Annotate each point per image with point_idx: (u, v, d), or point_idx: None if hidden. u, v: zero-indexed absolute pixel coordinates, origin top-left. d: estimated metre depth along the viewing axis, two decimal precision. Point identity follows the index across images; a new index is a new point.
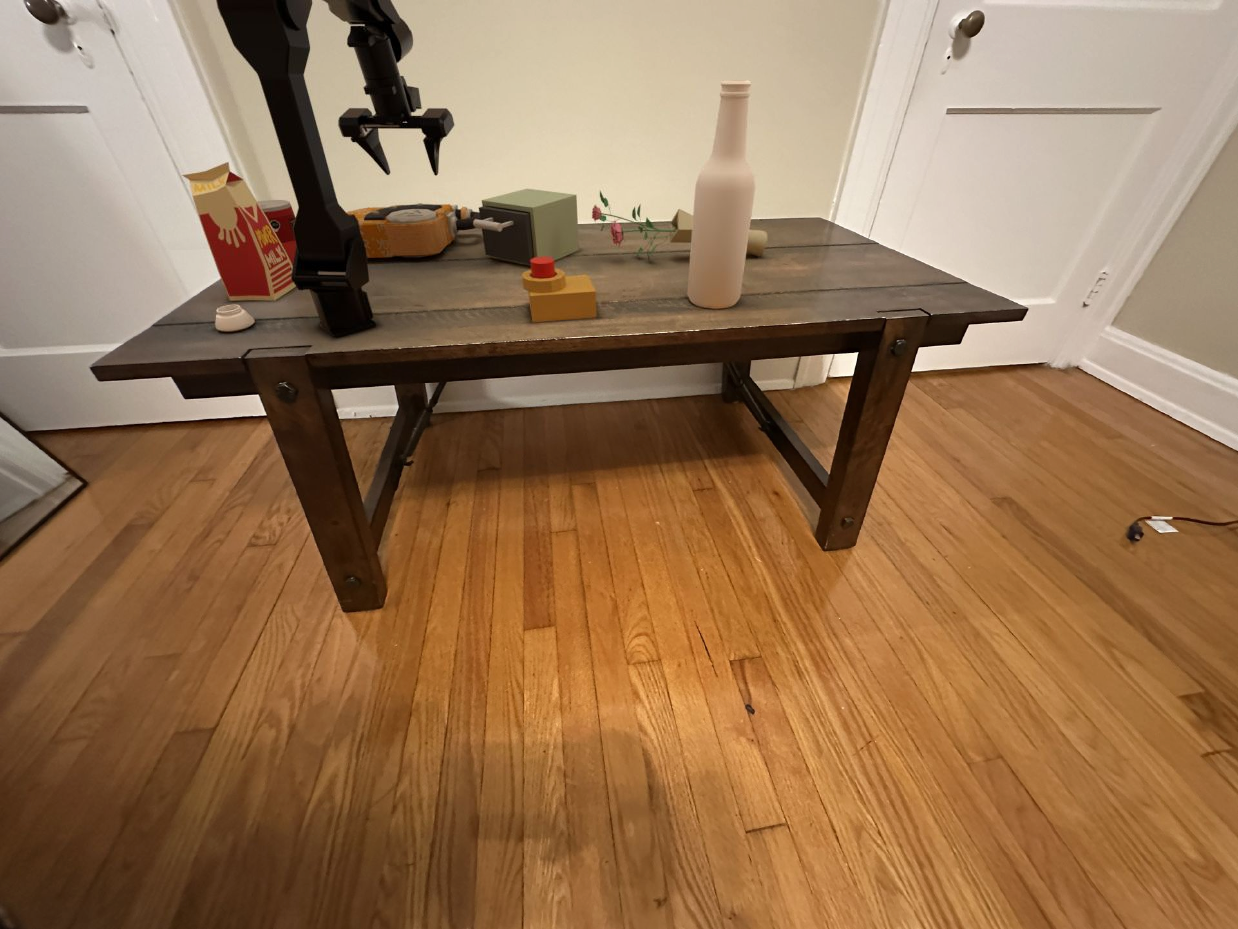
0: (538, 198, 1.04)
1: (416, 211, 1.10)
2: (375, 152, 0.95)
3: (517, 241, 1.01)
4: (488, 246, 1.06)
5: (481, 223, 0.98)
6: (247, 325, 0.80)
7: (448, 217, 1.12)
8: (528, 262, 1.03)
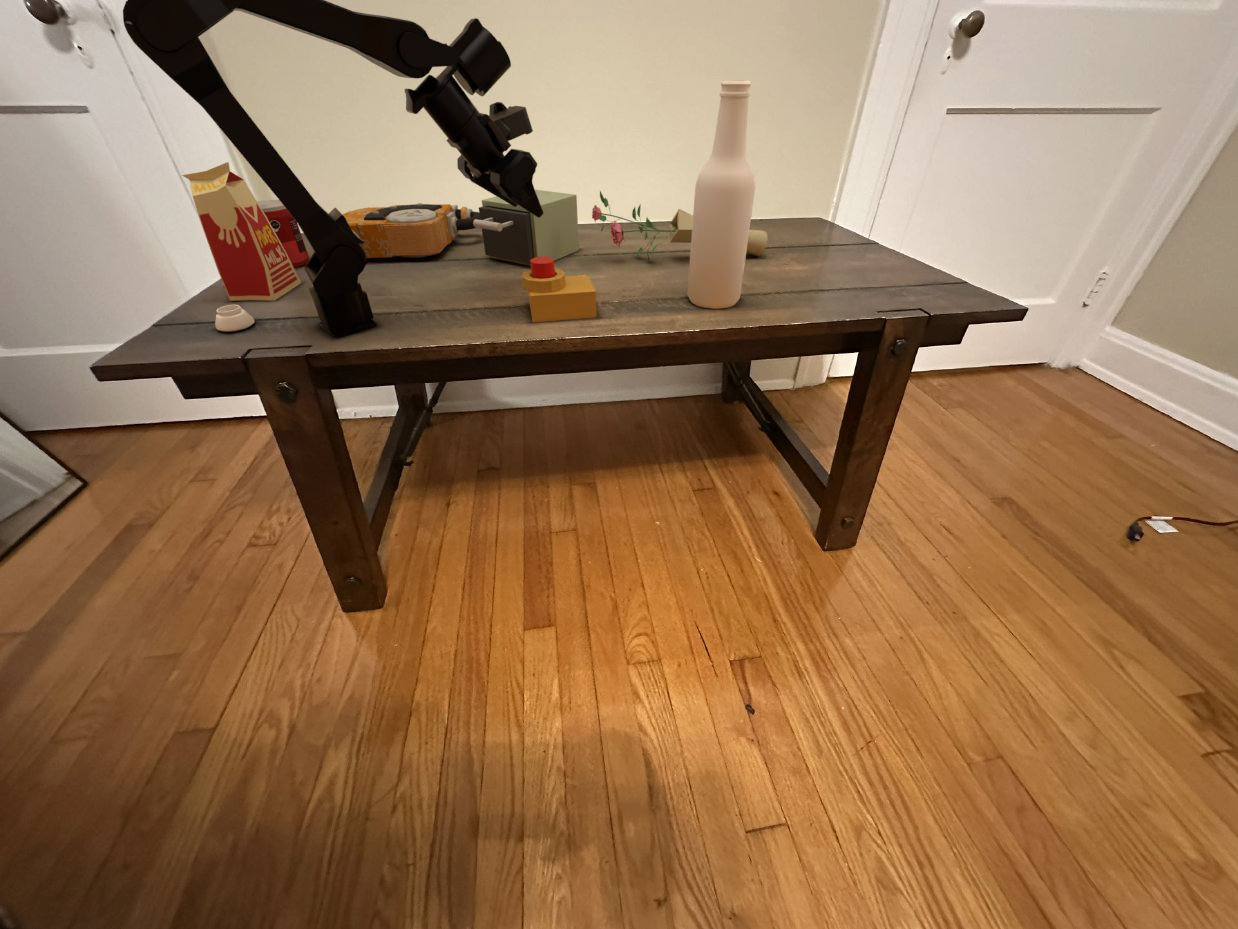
0: (538, 198, 1.04)
1: (416, 211, 1.10)
2: (491, 190, 0.87)
3: (517, 241, 1.01)
4: (488, 246, 1.06)
5: (481, 223, 0.98)
6: (247, 325, 0.80)
7: (448, 217, 1.12)
8: (528, 262, 1.03)
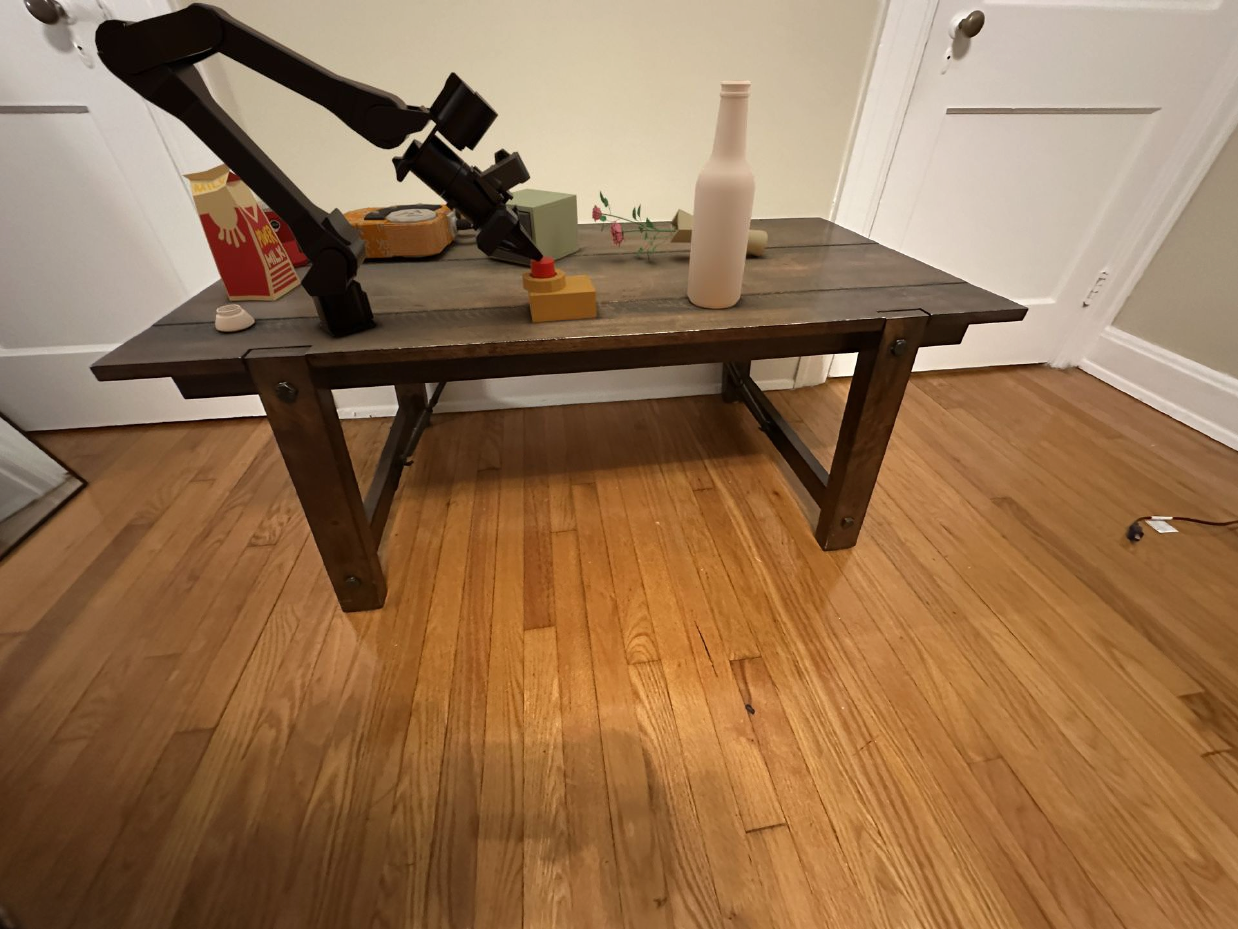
0: (538, 198, 1.04)
1: (416, 211, 1.10)
2: None
3: None
4: None
5: None
6: (247, 325, 0.80)
7: (448, 217, 1.12)
8: (528, 262, 1.03)
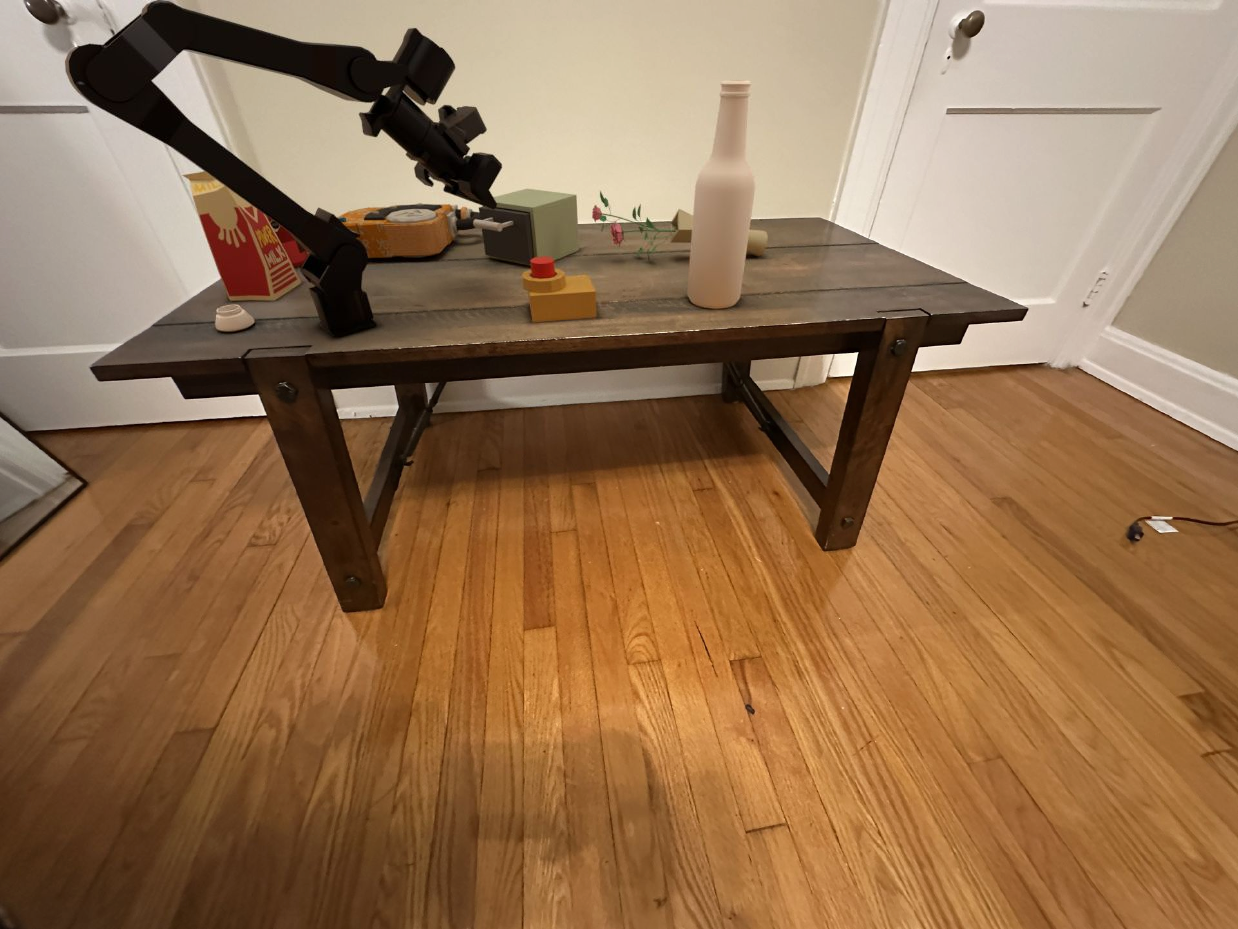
0: (538, 198, 1.04)
1: (416, 211, 1.10)
2: None
3: (517, 241, 1.01)
4: (488, 246, 1.06)
5: (481, 223, 0.98)
6: (247, 325, 0.80)
7: (448, 217, 1.12)
8: (528, 262, 1.03)
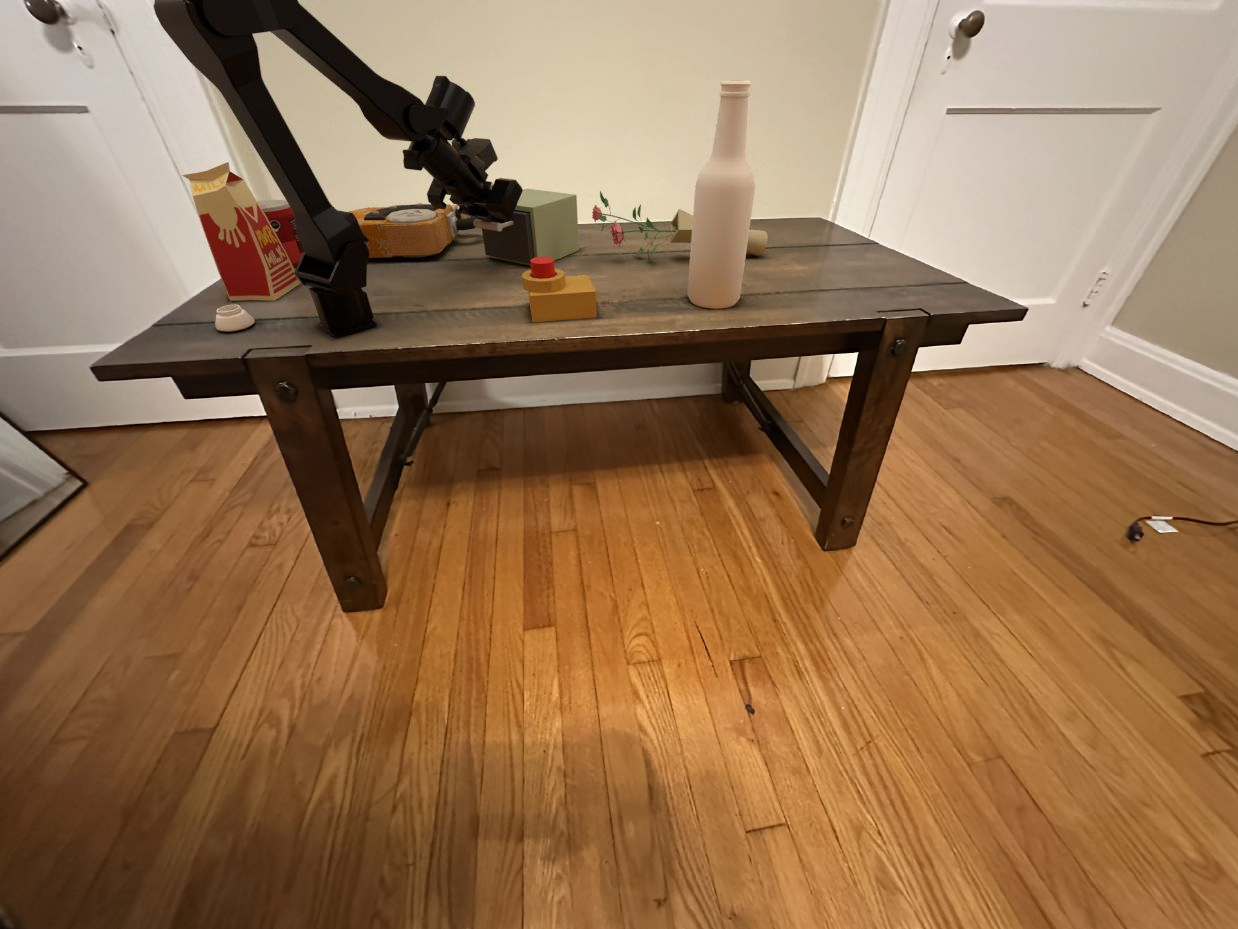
0: (538, 198, 1.04)
1: (416, 211, 1.10)
2: (481, 217, 0.97)
3: (517, 241, 1.01)
4: (488, 246, 1.06)
5: (481, 223, 0.98)
6: (247, 325, 0.80)
7: (448, 217, 1.12)
8: (528, 262, 1.03)
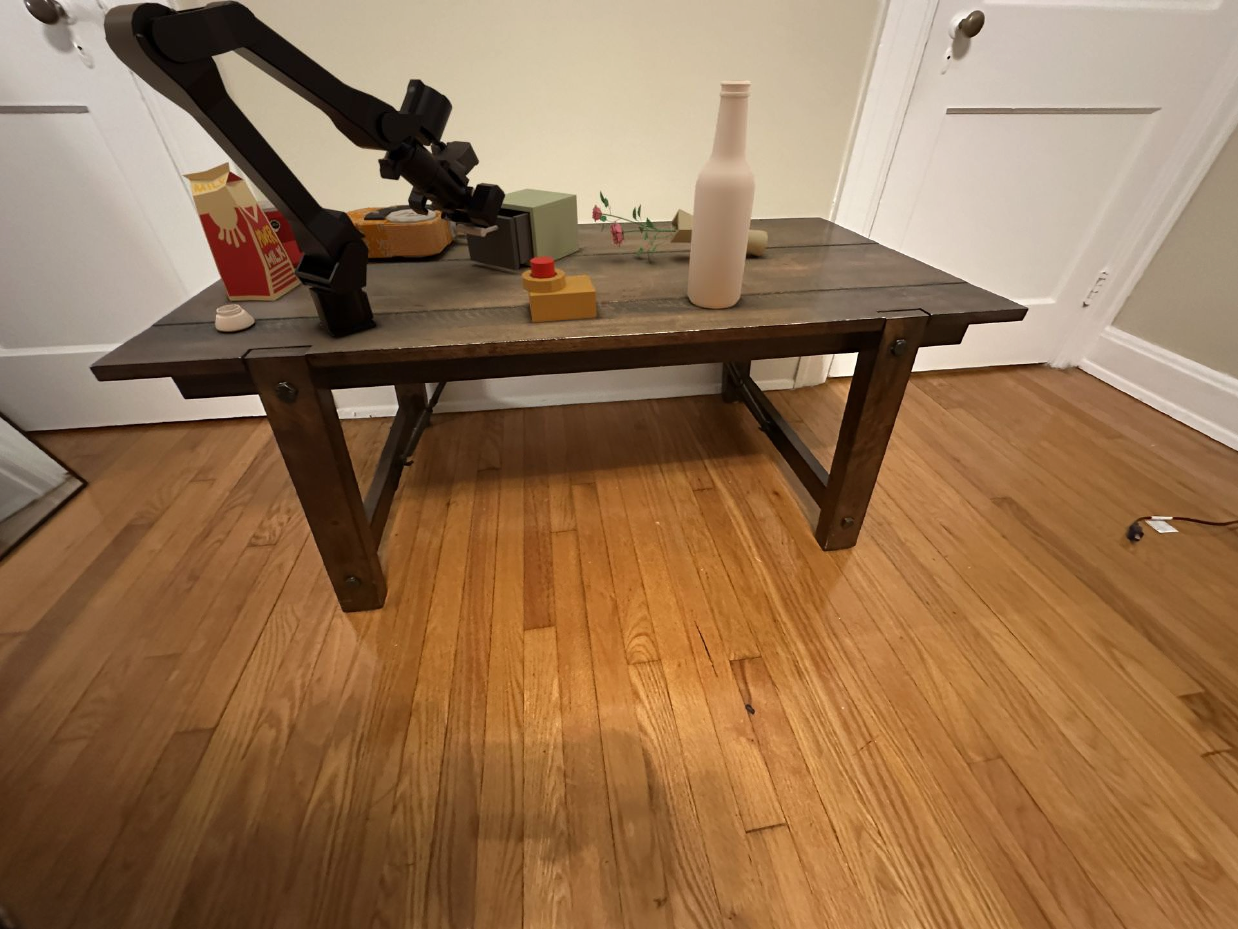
0: (538, 198, 1.04)
1: None
2: None
3: (502, 246, 0.98)
4: (473, 251, 1.03)
5: (464, 228, 0.95)
6: (247, 325, 0.80)
7: None
8: (513, 268, 1.00)
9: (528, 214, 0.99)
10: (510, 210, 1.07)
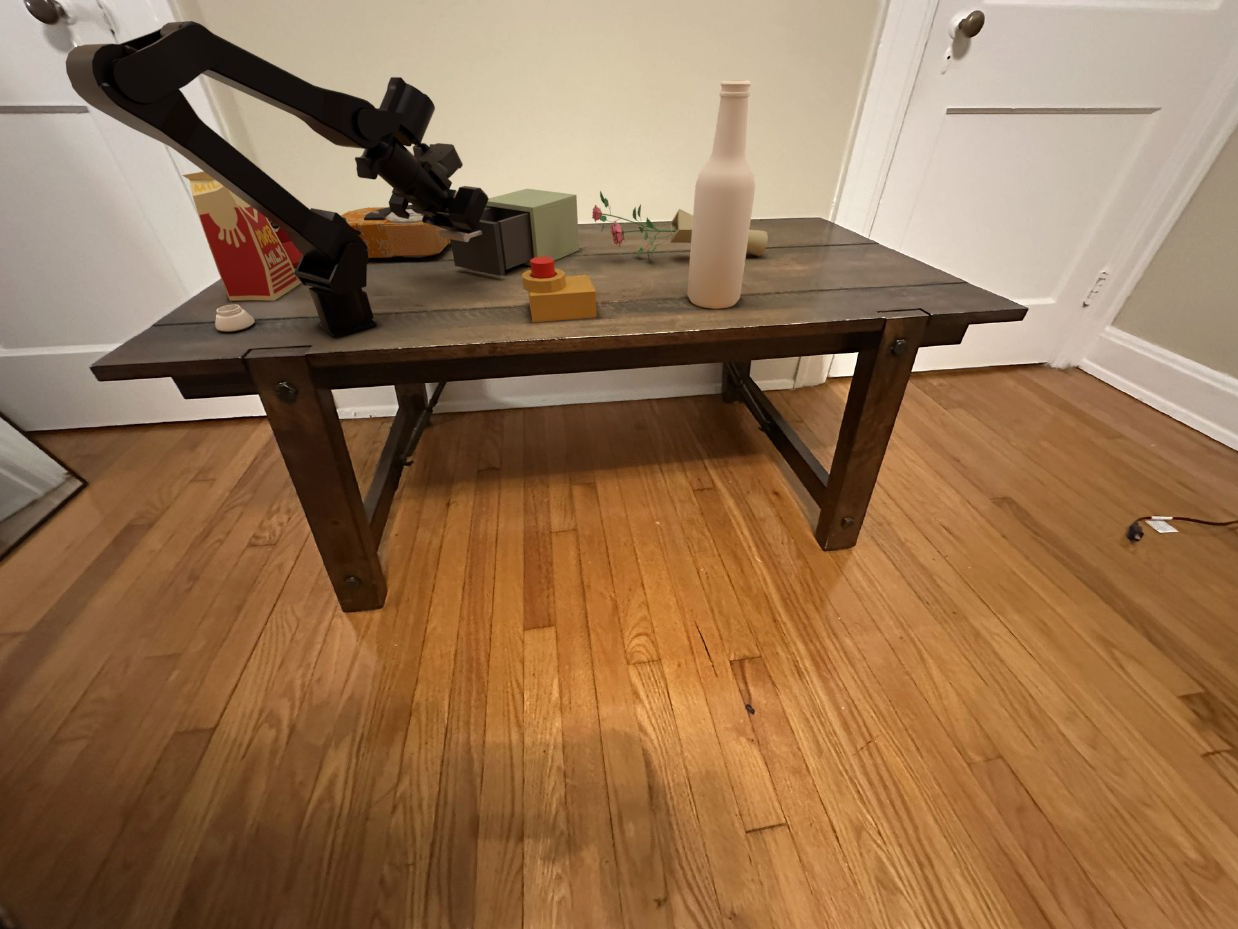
0: (538, 198, 1.04)
1: None
2: (446, 227, 0.91)
3: (486, 252, 0.96)
4: (457, 256, 1.00)
5: (447, 234, 0.92)
6: (247, 325, 0.80)
7: None
8: (498, 274, 0.97)
9: (513, 218, 0.96)
10: (496, 214, 1.04)
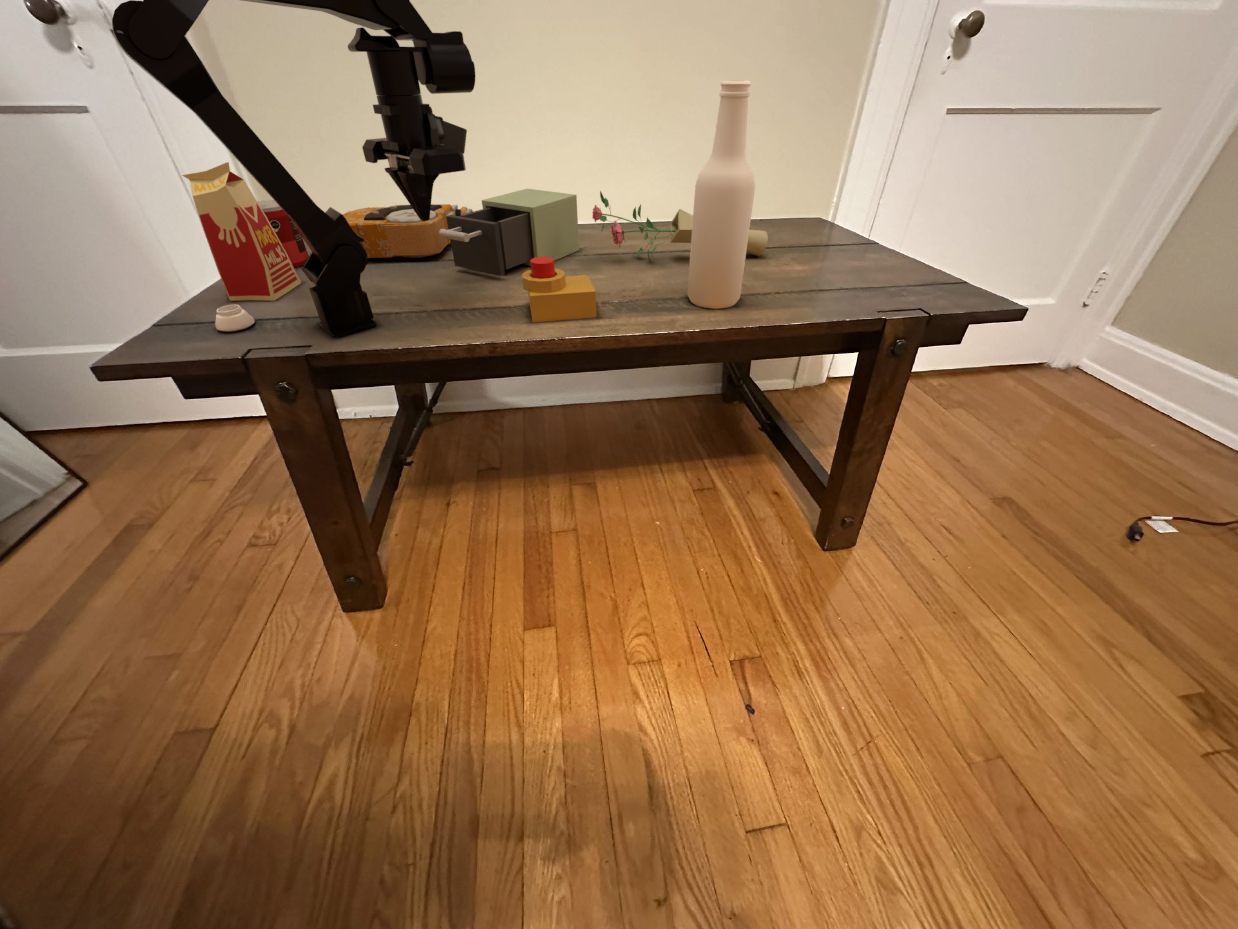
0: (538, 198, 1.04)
1: None
2: (405, 189, 0.77)
3: (486, 252, 0.96)
4: (457, 256, 1.00)
5: (447, 234, 0.92)
6: (247, 325, 0.80)
7: None
8: (498, 274, 0.97)
9: (513, 218, 0.96)
10: (496, 214, 1.04)
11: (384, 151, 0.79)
